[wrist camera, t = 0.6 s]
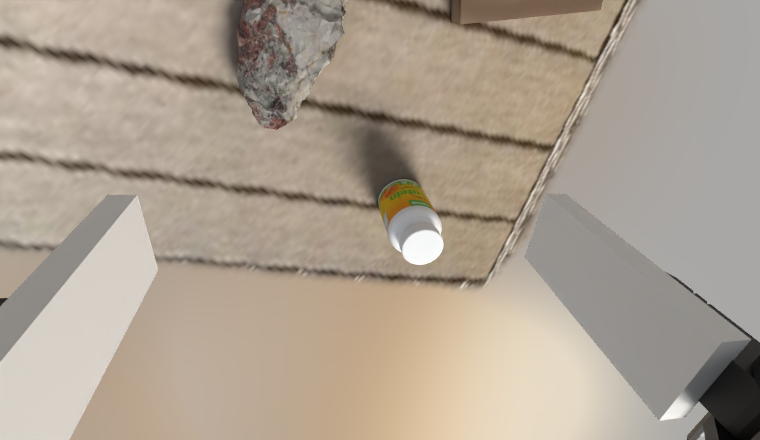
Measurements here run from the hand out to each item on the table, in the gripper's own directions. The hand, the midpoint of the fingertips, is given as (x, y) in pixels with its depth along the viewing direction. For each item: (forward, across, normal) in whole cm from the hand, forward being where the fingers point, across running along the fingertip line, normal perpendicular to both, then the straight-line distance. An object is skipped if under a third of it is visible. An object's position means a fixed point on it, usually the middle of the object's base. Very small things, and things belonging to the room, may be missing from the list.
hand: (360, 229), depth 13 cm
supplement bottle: (+26, +9, -13) cm, 31 cm away
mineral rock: (+27, -3, +3) cm, 27 cm away
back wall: (+26, +18, +8) cm, 33 cm away
